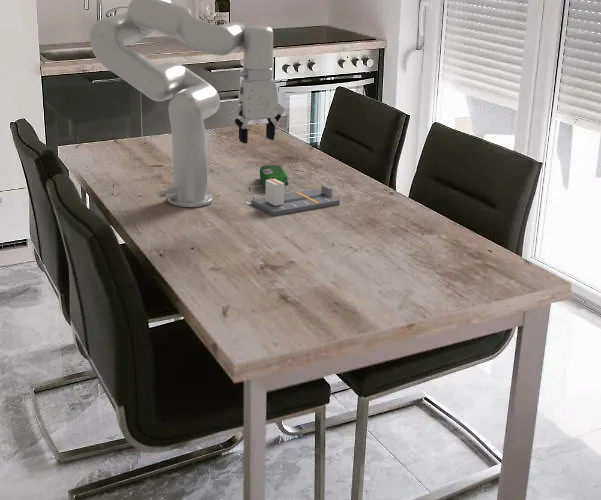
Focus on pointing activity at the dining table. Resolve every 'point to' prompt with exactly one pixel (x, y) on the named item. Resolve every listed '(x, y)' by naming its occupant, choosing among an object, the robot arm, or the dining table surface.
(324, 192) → the console
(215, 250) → the dining table surface
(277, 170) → the snack package
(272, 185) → the fader tab
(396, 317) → the dining table surface
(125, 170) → the dining table surface
